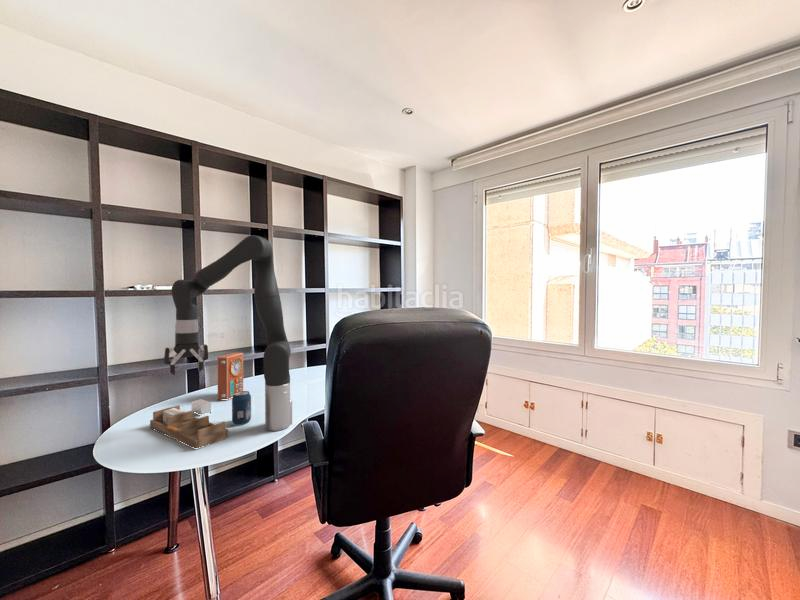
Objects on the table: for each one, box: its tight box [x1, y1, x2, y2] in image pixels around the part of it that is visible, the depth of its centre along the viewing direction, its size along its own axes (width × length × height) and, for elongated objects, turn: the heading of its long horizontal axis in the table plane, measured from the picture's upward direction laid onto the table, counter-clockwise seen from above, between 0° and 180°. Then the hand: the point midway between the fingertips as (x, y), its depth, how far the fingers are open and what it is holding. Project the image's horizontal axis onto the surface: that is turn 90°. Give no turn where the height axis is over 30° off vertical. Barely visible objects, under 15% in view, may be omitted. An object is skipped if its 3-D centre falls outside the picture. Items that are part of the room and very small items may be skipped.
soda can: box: [231, 390, 252, 426], centre depth 131 cm, size 7×7×12 cm
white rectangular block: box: [191, 398, 212, 415], centre depth 141 cm, size 4×8×5 cm, turn 59°
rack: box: [149, 405, 229, 448], centre depth 121 cm, size 11×34×6 cm, turn 59°
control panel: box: [216, 352, 244, 400], centre depth 164 cm, size 21×7×15 cm
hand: (186, 372), depth 125 cm, fingers open, 8 cm apart
